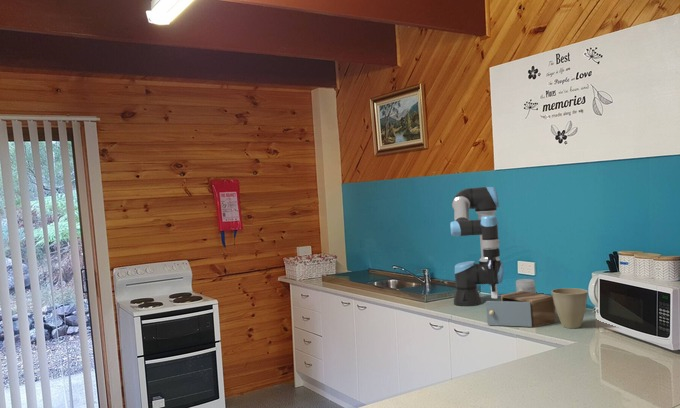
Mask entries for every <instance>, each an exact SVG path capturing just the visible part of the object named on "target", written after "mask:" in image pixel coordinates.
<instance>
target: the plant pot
mask: <svg viewBox="0 0 680 408" xmlns="http://www.w3.org/2000/svg"><path fill="white" fill-rule="evenodd" d="M588 292H589V291H588V290H587V289H584V288H575V287H573V288H572V287H562V288H555V289H552V290H551V296H553V301H554V304H555V311H556V313H557V314H556V315H557V316H558V319H559V321H560V323H561V325H562V327H563V328H566V329H579V328H581V326H582V323H583V321H584V316H585V313H586V308H587V304H588V303H587V302H588V295H589V294H588Z"/></svg>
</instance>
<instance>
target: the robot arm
mask: <svg viewBox="0 0 680 408" xmlns="http://www.w3.org/2000/svg"><path fill="white" fill-rule="evenodd" d="M451 203H452V204H451V206H452V209H453V210H454V213H453V215H454V217H453V219H454V221H451V222H450V223H449V224H450V226H449V227H450V234H451V235H450V236H453V237H466V236H467V237H468V236H479V242H480V256H481V257H480V259H478V263H476V261H475V260H469V261H468V260H467V261H463V262H459V263H456V264H455V265H454V281H455V293H454V298H453V304H454V306H455V305H456V306H460V307H471V306H472V307H473V306H478V305H481V304H482V297H480V294H479V291H478V285H490V296H491V299H498V298H499V294H498V285H499V284H501V283H502V282H503V279H504V267H505V266H504V262H502V261H501V259H500V256H501V255H500V252H501V251H500V248H499V247H500V243H501V241H500V240H499V227H498V224H499V223H498V217H497V215H495V214H496V212H497V210H498V208H499V207H500V204H499V198H498V194H497V190H496V188H495V187H494V186H484V187H482V186H480V187H473V188H472V187H471V188H470V187H469V188H464V189H462V190H460V191H458V193H456V194H455V195H454V197H453V199H452V202H451ZM469 210H474V211H475V213H476V215H478V217H477V218H478V219H473V220H471V219H470V211H469Z"/></svg>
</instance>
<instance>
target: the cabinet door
mask: <svg viewBox="0 0 680 408" xmlns="http://www.w3.org/2000/svg"><path fill="white" fill-rule="evenodd" d="M485 306H486V319H487V320H486V321H487V325H488V326H506V327H508V326H510V327H528V328H531V327H532V317H531V304H530V302H512V301H501V300H486V301H485ZM532 328H533V327H532Z"/></svg>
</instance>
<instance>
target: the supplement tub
mask: <svg viewBox="0 0 680 408" xmlns="http://www.w3.org/2000/svg"><path fill="white" fill-rule="evenodd" d="M536 290H537V288H536V282H535V280H534V279H533V278H521V279H517V280H515V292H519V291H526V292H532V293H537V292H536Z"/></svg>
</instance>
